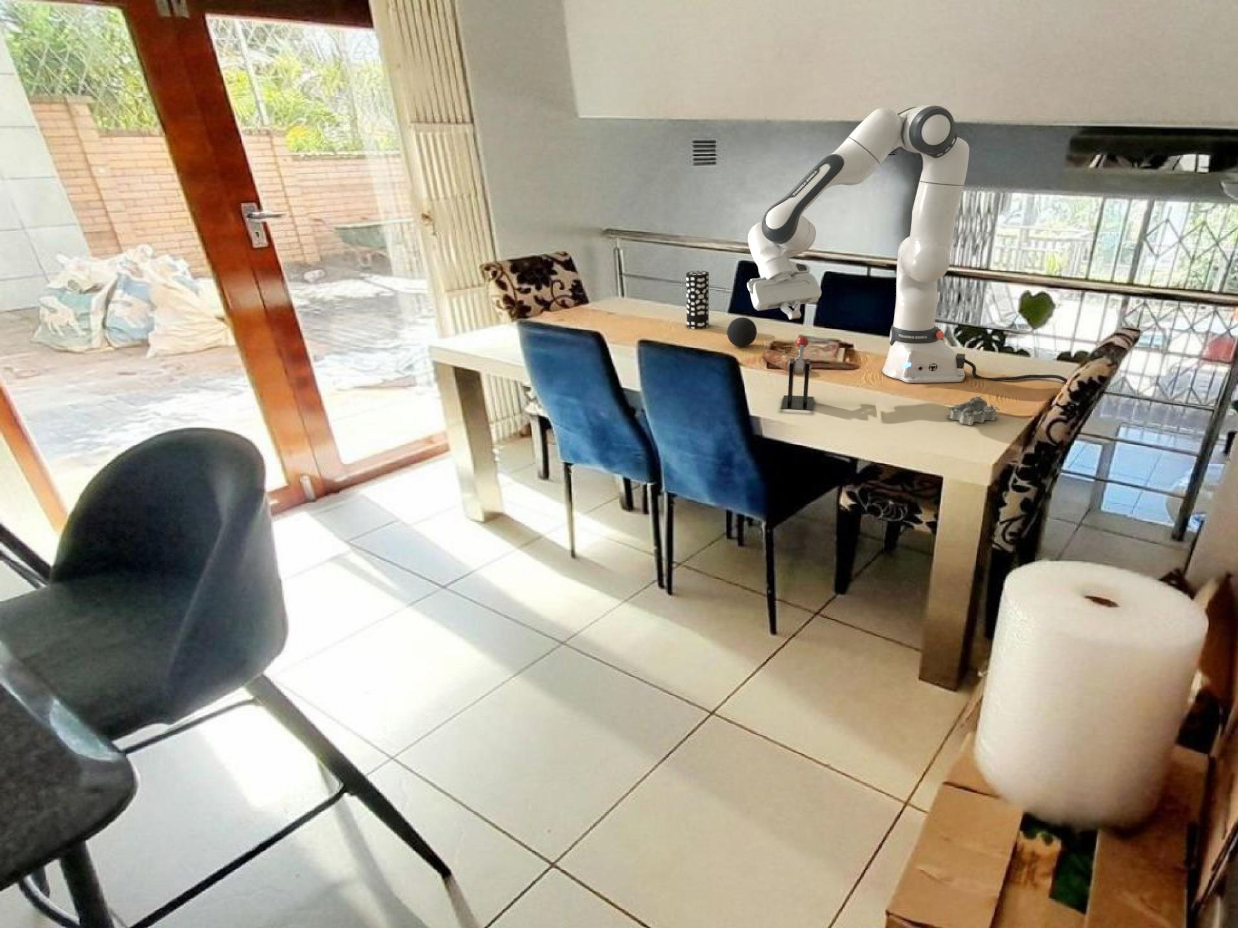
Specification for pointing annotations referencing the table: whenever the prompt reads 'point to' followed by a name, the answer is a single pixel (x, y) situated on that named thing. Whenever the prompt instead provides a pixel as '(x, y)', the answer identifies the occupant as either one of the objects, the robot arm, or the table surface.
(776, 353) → the bread
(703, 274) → the white-spotted black cylinder
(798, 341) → the lever
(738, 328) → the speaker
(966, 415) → the grey lumpy block
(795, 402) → the bracket
